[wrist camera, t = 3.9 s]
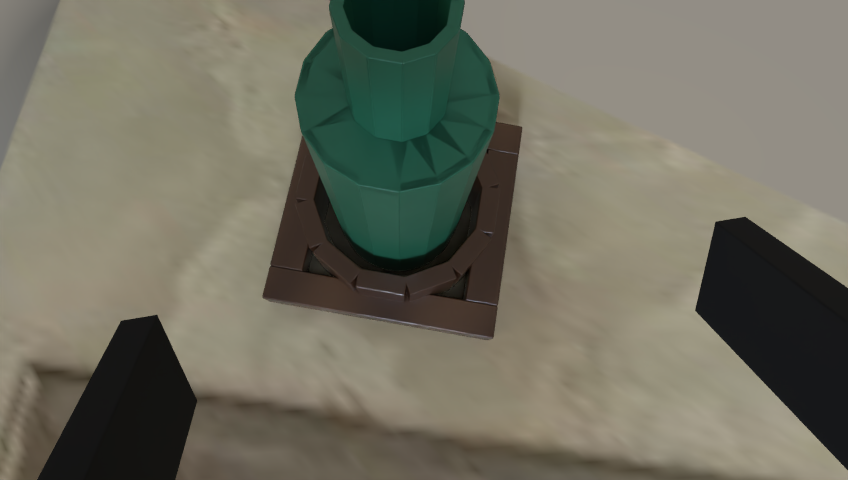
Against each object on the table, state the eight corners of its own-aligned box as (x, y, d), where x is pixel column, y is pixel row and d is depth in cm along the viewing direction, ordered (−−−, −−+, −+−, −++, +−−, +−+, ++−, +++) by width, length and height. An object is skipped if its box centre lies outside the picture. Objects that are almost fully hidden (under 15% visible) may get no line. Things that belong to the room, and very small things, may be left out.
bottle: (331, 260, 30) (229, 99, 12) (354, 153, 32) (295, -127, 14) (445, 280, 30) (512, 149, 12) (463, 173, 32) (544, -82, 14)
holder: (268, 301, 29) (248, 290, 26) (317, 101, 32) (306, 65, 29) (488, 340, 29) (502, 336, 26) (517, 137, 32) (532, 106, 29)
